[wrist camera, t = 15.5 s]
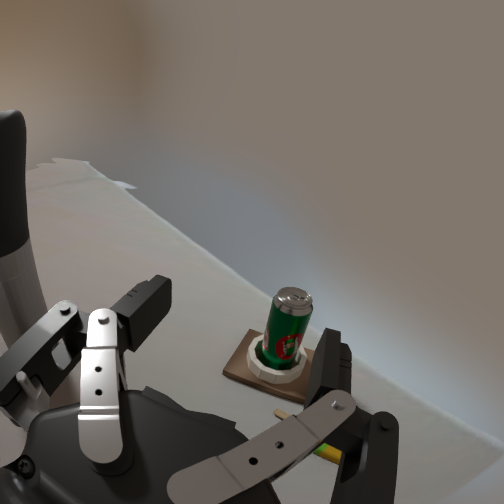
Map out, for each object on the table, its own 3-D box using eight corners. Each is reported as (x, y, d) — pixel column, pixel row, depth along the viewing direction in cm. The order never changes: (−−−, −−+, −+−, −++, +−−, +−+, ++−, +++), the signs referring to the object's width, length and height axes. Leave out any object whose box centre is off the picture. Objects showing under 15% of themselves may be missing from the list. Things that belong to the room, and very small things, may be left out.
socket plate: (222, 374, 36) (224, 360, 34) (248, 333, 44) (251, 319, 43) (304, 404, 33) (310, 391, 31) (318, 356, 41) (323, 343, 40)
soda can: (264, 346, 41) (280, 280, 36) (295, 356, 40) (318, 292, 34) (252, 368, 36) (269, 301, 31) (286, 380, 35) (311, 314, 30)
